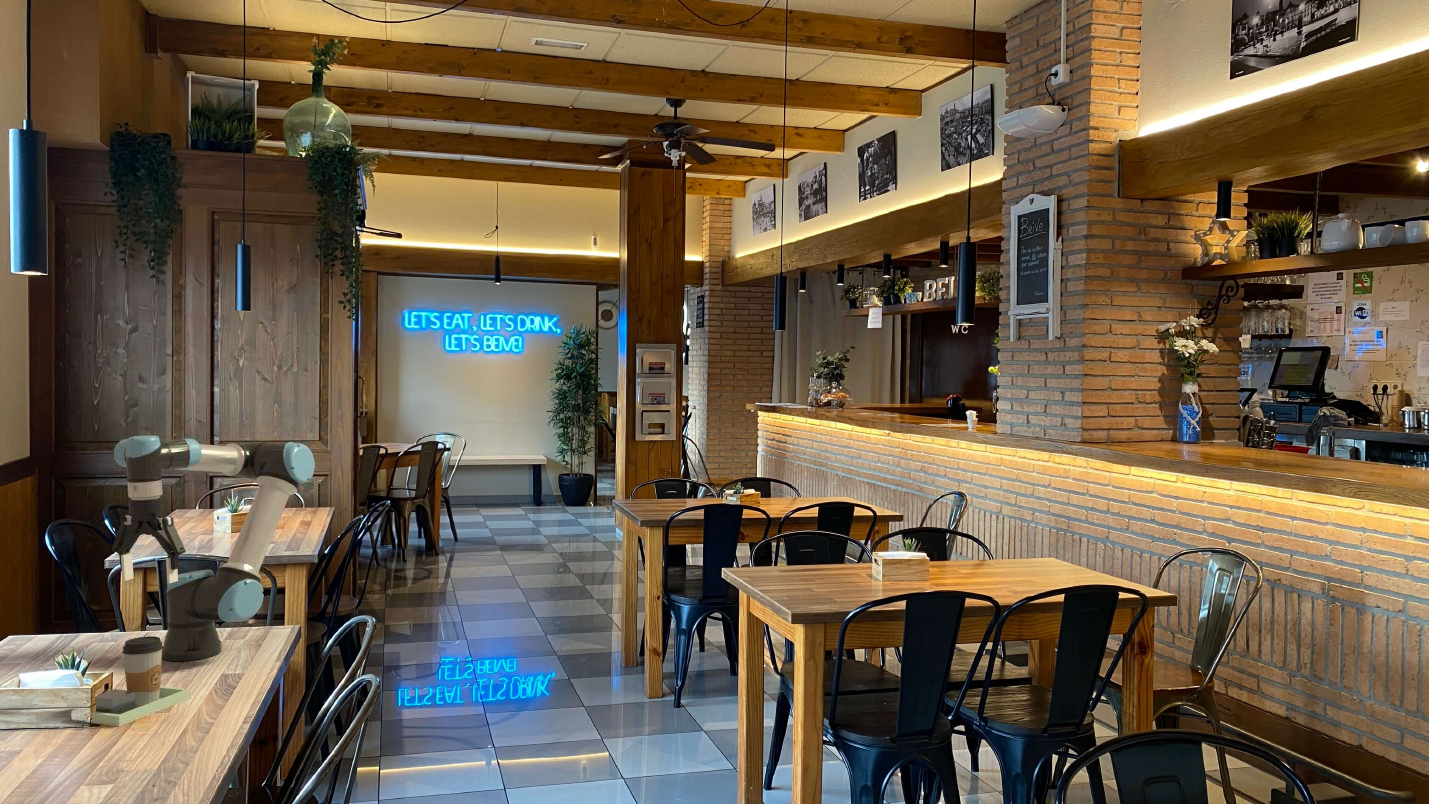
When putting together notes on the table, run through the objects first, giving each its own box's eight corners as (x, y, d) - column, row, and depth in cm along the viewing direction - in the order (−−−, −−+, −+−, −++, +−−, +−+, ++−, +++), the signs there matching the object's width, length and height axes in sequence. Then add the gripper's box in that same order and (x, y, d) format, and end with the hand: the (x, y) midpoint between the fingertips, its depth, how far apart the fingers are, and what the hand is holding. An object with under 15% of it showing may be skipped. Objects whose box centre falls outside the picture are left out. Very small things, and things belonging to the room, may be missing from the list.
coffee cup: (146, 709, 235) (144, 645, 235) (115, 707, 237) (113, 644, 237) (172, 698, 244) (170, 636, 243) (142, 696, 245) (140, 634, 245)
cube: (115, 710, 235) (114, 689, 235) (135, 712, 233) (135, 691, 233) (92, 718, 230) (91, 697, 229) (113, 721, 228) (112, 699, 228)
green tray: (144, 696, 248) (144, 684, 248) (190, 701, 244) (190, 689, 244) (70, 723, 229) (70, 710, 229) (119, 729, 225) (119, 716, 225)
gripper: (92, 498, 254) (97, 582, 255) (175, 501, 248) (180, 586, 249) (117, 493, 261) (121, 575, 263) (198, 496, 255) (202, 579, 256)
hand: (150, 581), depth 256 cm, fingers open, 13 cm apart
